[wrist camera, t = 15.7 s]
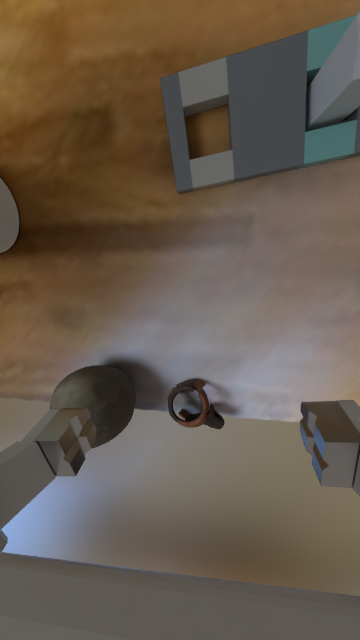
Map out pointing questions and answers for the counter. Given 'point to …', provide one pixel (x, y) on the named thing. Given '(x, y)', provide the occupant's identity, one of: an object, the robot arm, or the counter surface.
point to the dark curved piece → (201, 418)
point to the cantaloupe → (99, 398)
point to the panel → (258, 111)
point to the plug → (336, 83)
